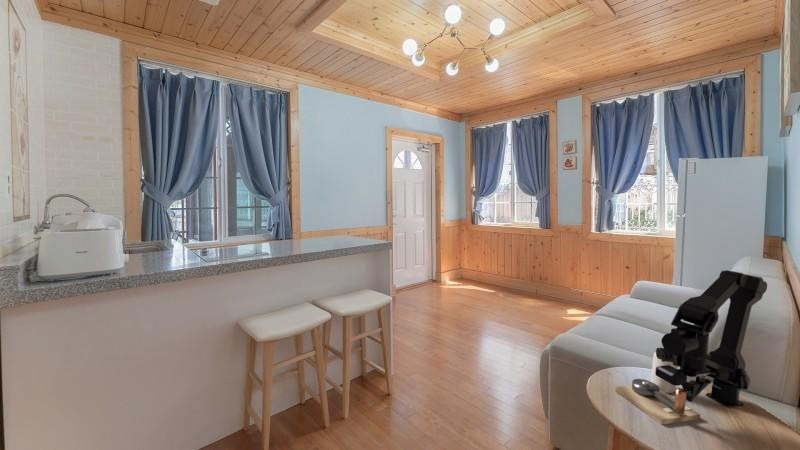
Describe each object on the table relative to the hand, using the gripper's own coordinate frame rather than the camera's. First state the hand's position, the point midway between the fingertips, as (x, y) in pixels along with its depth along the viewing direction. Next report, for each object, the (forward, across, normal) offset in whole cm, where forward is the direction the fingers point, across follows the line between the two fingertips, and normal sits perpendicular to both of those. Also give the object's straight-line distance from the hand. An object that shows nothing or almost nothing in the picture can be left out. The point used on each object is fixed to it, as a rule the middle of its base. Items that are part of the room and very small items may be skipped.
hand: (689, 401), depth 100 cm
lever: (+3, +3, -7) cm, 8 cm away
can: (+5, -7, -14) cm, 16 cm away
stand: (+5, +4, -7) cm, 9 cm away
